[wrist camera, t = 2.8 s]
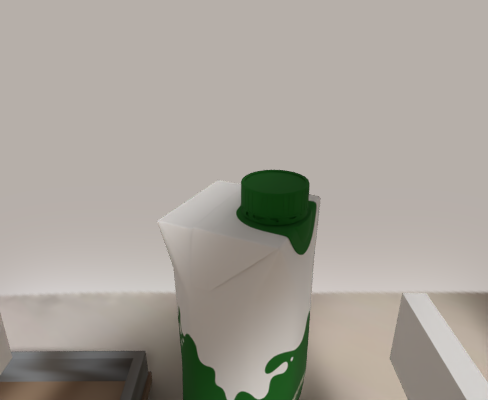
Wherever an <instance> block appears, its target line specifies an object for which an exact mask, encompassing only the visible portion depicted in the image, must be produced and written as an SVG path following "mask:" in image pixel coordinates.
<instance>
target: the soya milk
mask: <svg viewBox="0 0 488 400" xmlns="http://www.w3.org/2000/svg"><path fill="white" fill-rule="evenodd" d="M319 207H320V197H319V196H315V195H310V194H309V181H308V179H307V178H306V177H304V176H302V175H300V174H298V173H295V172H290V171H283V170H264V171H257V172H253V173H250V174H248V175H246V176H245V177H244V178H243V179H242V181H241V184H239V183H233V182H227V181H221V180H218V181H216V182H214V183H213V184H211V185H210V186H209V187H207V188H205V189H204V190H203V191H201V192H199V193H198V194H196V195H195V196H193V197H192V198H190V199H189V200H188V201H186V202H184V203H183V204H181V205H180V206H178V207H177V208H175V209H174V210H172V211H171V212H169V213H168V214H166V215H165V216H163V217H162V218H160V219H159V220H158V221H157V222H158V225H159V227H160V230H161V233H162V236H163V239H164V242H165V244H166V247H167V250H168V253H169V256H170V259H171V262H172V265H173V267H174V277H175V287H176V299H177V310H178V321H179V332H180V343H181V354H182V371H183V400H298V399H299V397H300V394H301V390H302V385H303V381H304V376H305V371H306V361H307V347H308V334H309V320H310V306H311V292H312V278H313V265H314V264H313V263H314V254H315V244H316V234H317V225H318V216H319Z"/></svg>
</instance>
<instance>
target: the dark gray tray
mask: <svg viewBox="0 0 488 400" xmlns="http://www.w3.org/2000/svg"><path fill="white" fill-rule="evenodd" d="M11 354H12V359H11V360H10V362H9V363H8V365H7V366H6V368H5V369H4V370H3V372H2V373H1V375H0V400H147V399H148V395H149V391H150V387H151V383H152V375H151V372H148V368H147V360H146V353H145V351H52V352H11Z"/></svg>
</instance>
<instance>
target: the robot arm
mask: <svg viewBox="0 0 488 400" xmlns="http://www.w3.org/2000/svg"><path fill="white" fill-rule="evenodd" d="M11 359H12V354H11V350H10V347H9V343H8V339H7V336H6V332H5V328H4V325H3V321H2V318H1V314H0V375H1V373H2V372H3V370H4V369H5V368H6V366H7V365H8V363H9V362H10V360H11ZM390 360H391V362H392V365H393V367H394V369H395V371H396V374H397V376H398V378H399V380H400V383H401V385H402V387H403V389H404V392H405V394H406V396H407V398H408V400H488V382H487V381H486V379H485V378H484V376H483V375H482V374H481V372H480V371H479V369H478V368H477V366H476V365H475V363H474V362H473V360H472V359H471V358H470V356H469V355H468V353H467V352H466V350H465V349H464V347H463V346H462V344H461V343H460V342H459V340H458V339H457V337H456V336H455V334H454V333H453V331H452V330H451V329H450V327H449V326H448V324H447V323H446V321H445V320H444V318H443V317H442V315H441V314H440V313H439V311H438V310H437V308H436V307H435V305H434V304H433V302H432V301H431V299H430V298H429V297H428V295H427V294H426V293H402V298H401V303H400V308H399V313H398V319H397V324H396V329H395V334H394V339H393V344H392V349H391V354H390Z"/></svg>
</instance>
